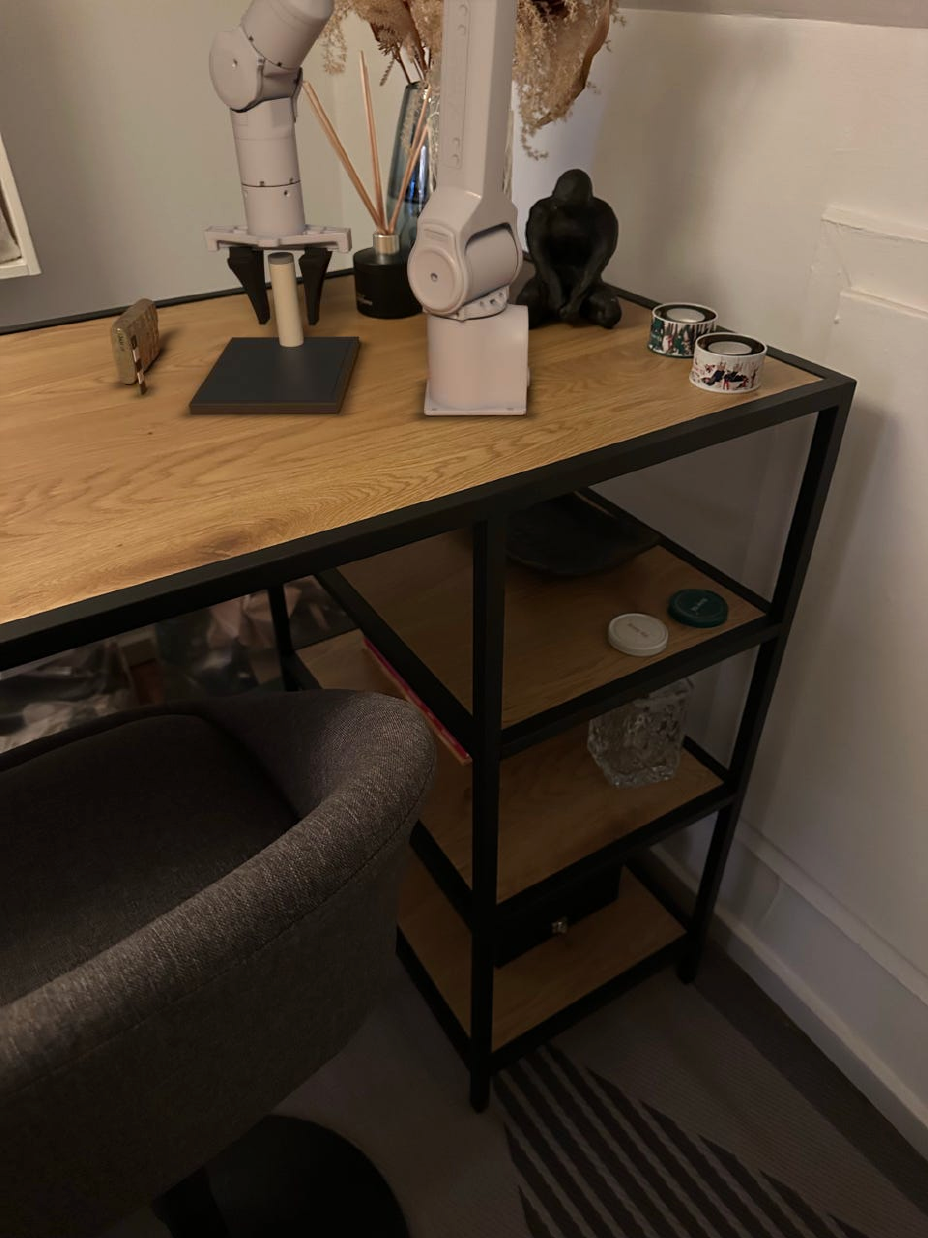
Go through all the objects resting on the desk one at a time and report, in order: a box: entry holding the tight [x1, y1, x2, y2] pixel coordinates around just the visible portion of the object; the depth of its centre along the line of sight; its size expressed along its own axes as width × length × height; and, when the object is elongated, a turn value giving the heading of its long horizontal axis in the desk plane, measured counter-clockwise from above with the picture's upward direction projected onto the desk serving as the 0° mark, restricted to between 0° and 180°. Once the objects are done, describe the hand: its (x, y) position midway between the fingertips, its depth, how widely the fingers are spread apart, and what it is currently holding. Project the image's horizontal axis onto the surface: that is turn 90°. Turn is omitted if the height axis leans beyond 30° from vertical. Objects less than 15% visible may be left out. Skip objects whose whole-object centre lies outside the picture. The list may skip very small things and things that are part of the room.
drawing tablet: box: [188, 336, 361, 415], centre depth 88 cm, size 14×18×1 cm
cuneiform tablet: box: [109, 297, 161, 396], centre depth 89 cm, size 6×4×12 cm
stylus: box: [267, 251, 305, 347], centre depth 91 cm, size 3×3×9 cm
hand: (289, 321), depth 92 cm, fingers open, 5 cm apart
